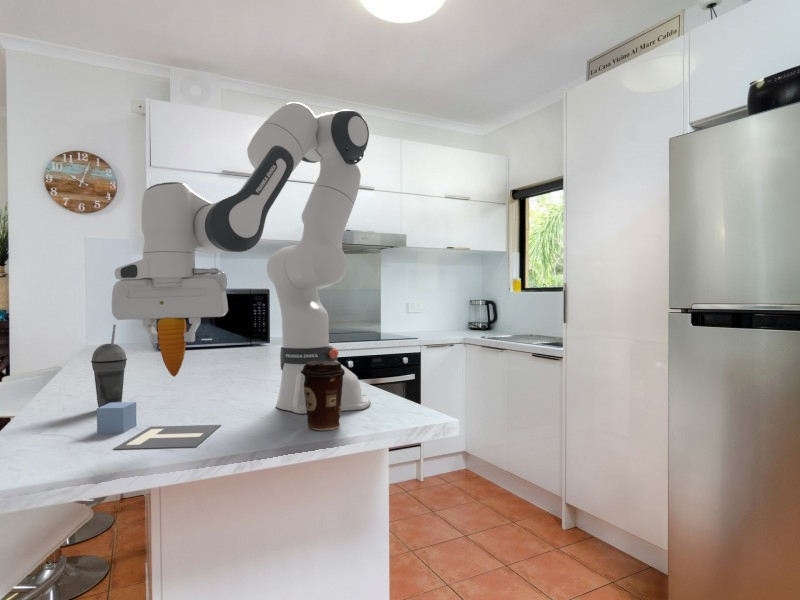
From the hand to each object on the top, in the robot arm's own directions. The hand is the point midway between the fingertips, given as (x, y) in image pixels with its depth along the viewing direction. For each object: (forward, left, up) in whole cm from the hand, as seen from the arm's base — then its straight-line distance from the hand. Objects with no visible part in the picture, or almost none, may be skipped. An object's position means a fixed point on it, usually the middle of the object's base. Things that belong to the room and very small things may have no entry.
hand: (172, 342), depth 89 cm
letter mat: (0, 0, -18) cm, 18 cm away
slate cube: (+13, -6, -18) cm, 23 cm away
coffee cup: (-28, -4, -18) cm, 33 cm away
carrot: (0, 0, -7) cm, 7 cm away
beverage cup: (+24, -24, -18) cm, 38 cm away
